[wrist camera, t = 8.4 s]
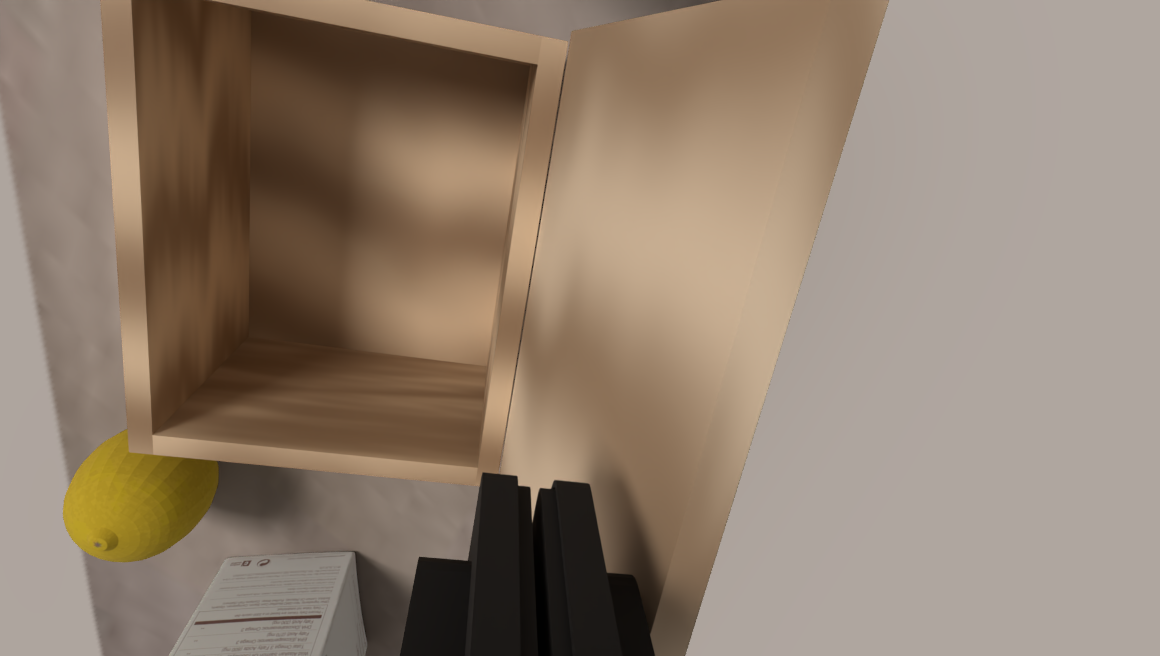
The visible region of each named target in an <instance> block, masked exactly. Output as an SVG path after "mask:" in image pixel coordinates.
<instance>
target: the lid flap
mask: <svg viewBox="0 0 1160 656" xmlns="http://www.w3.org/2000/svg"><path fill="white" fill-rule="evenodd" d="M888 3H889V0H720V1H715V2H710V3H706V4H701V5H696V6H691V7H686V8H681V9H677V10H672V11H667V12H662V13H657V14H652V15H648V16H643V17H638V18H633V19H628V20H623V21H619V22H614V23H609V24H604V25H599V26H594V27H590V28H585V29H580V30H575V31H572V32H571V39H570V45H569V51H568V57H567V63H566V69H565V75H564V82H563V88H562V94H561V100H560V106H559V112H558V118H557V125H556V131H555V137H554V143H553V149H552V155H551V161H550V167H549V174H548V180H547V186H546V192H545V198H544V204H543V210H542V217H541V223H540V229H539V235H538V241H537V247H536V253H535V260H534V266H533V272H532V278H531V284H530V290H529V296H528V302H527V309H526V315H525V321H524V327H523V333H522V339H521V345H520V352H519V358H518V364H517V370H516V376H515V382H514V388H513V395H512V401H511V407H510V413H509V419H508V425H507V431H506V437H505V444H504V450H503V456H502V462H501V468H500V474H505V475H514V476H518V486H528V487H530V489H531V508H532V521H533V516H534V511H535V506H536V501H537V496H538V492H539V489H540V488H547V489H551V487H552V484H553V481H554V480H562V481H571V482H581V483H588V484H590V487H591V491H592V497H593V502H594V507H595V512H596V518H597V523H598V528H599V534H600V539H601V544H602V549H603V555H604V560H605V565H606V571H607V573H618V574H630V575H633V576H634V577H635V579H636V581H637V584H638V587H639V591H640V596H641V600H642V604H643V608H644V612H645V616H646V620H647V624H648V628H649V632H650V637H651V641H652V645H653V649H654V653H655V656H685V654H686V651H687V648H688V645H689V642H690V638H691V635H692V632H693V629H694V626H695V622H696V619H697V616H698V612H699V609H700V606H701V603H702V599H703V597H704V593H705V590H706V587H707V583H708V581H709V577H710V574H711V571H712V568H713V564H714V561H715V558H716V555H717V552H718V548H719V545H720V542H721V539H722V535H723V532H724V529H725V526H726V523H727V520H728V516H729V513H730V510H731V507H732V503H733V500H734V497H735V494H736V491H737V488H738V484H739V481H740V478H741V475H742V471H743V468H744V465H745V461H746V459H747V455H748V452H749V449H750V446H751V443H752V439H753V436H754V433H755V429H756V426H757V423H758V420H759V417H760V413H761V410H762V407H763V404H764V401H765V397H766V394H767V391H768V388H769V385H770V381H771V378H772V375H773V372H774V368H775V365H776V362H777V359H778V356H779V353H780V349H781V346H782V343H783V340H784V337H785V333H786V330H787V327H788V323H789V321H790V317H791V314H792V311H793V308H794V304H795V301H796V298H797V295H798V292H799V288H800V285H801V282H802V279H803V276H804V272H805V269H806V266H807V263H808V260H809V256H810V253H811V250H812V247H813V243H814V240H815V237H816V233H817V230H818V227H819V224H820V221H821V218H822V215H823V211H824V208H825V205H826V202H827V198H828V195H829V192H830V189H831V186H832V182H833V179H834V176H835V173H836V169H837V166H838V163H839V160H840V157H841V154H842V150H843V147H844V144H845V141H846V137H847V134H848V131H849V128H850V124H851V121H852V118H853V115H854V111H855V108H856V105H857V102H858V99H859V96H860V92H861V89H862V86H863V83H864V80H865V76H866V73H867V70H868V67H869V63H870V60H871V57H872V54H873V51H874V48H875V44H876V41H877V38H878V35H879V31H880V28H881V25H882V22H883V19H884V15H885V12H886V9H887V5H888Z"/></svg>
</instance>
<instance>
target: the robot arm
mask: <svg viewBox="0 0 1160 656" xmlns="http://www.w3.org/2000/svg"><path fill="white" fill-rule="evenodd" d="M400 656H655V653H654V649H653V645H652V641H651V637H650V632H649V628H648V624H647V620H646V616H645V612H644V608H643V604H642V600H641V596H640V591H639V587H638V584H637V581H636V579H635V577H634V576H633V575H630V574H618V573H607V571H606V565H605V560H604V555H603V549H602V544H601V539H600V534H599V528H598V523H597V518H596V512H595V507H594V502H593V497H592V491H591V487H590V484H588V483H581V482H571V481H562V480H554V481H553V484H552V487H551V489H547V488H540V489H539V492H538V496H537V501H536V506H535V511H534V516H533V521H532V508H531V489H530V487H528V486H518V476H514V475H505V474H495V473H486V472H482V476H481V482H480V488H479V494H478V501H477V507H476V513H475V519H474V526H473V532H472V538H471V545H470V551H469V557H468V561H463V560H451V559H439V558H427V557H419V560H418V564H417V569H416V574H415V580H414V585H413V590H412V596H411V601H410V606H409V611H408V617H407V622H406V627H405V632H404V638H403V643H402V648H401V654H400Z"/></svg>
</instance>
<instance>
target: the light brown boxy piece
mask: <svg viewBox="0 0 1160 656" xmlns="http://www.w3.org/2000/svg"><path fill="white" fill-rule="evenodd" d="M100 3H101V19H102V35H103V50H104V66H105V82H106V98H107V114H108V129H109V145H110V161H111V177H112V192H113V208H114V224H115V240H116V256H117V271H118V287H119V303H120V319H121V334H122V350H123V366H124V382H125V398H126V413H127V429H128V445H129V452H131V453H141V454H152V455H162V456H172V457H183V458H193V459H203V460H214V461H224V462H234V463H245V464H255V465H265V466H276V467H286V468H296V469H307V470H317V471H327V472H338V473H348V474H358V475H369V476H379V477H389V478H400V479H410V480H420V481H431V482H441V483H452V484H462V485H472V486H480V482H481V476H482V472H486V473H495V474H498V472H499V466H500V460H501V454H502V448H503V442H504V435H505V429H506V423H507V417H508V411H509V405H510V398H511V392H512V386H513V380H514V374H515V368H516V361H517V355H518V349H519V343H520V337H521V331H522V324H523V318H524V312H525V306H526V300H527V294H528V287H529V281H530V275H531V269H532V263H533V257H534V250H535V244H536V238H537V232H538V226H539V219H540V213H541V207H542V201H543V195H544V189H545V182H546V176H547V170H548V164H549V158H550V152H551V145H552V139H553V133H554V127H555V121H556V115H557V108H558V102H559V96H560V90H561V84H562V78H563V71H564V65H565V59H566V53H567V47H568V41H563V40H558V39H553V38H548V37H543V36H538V35H534V34H529V33H524V32H519V31H514V30H509V29H504V28H499V27H494V26H489V25H484V24H480V23H475V22H470V21H465V20H460V19H455V18H450V17H445V16H440V15H435V14H430V13H426V12H421V11H416V10H411V9H406V8H401V7H396V6H391V5H386V4H381V3H376V2H371V1H367V0H100Z"/></svg>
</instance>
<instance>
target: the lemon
mask: <svg viewBox="0 0 1160 656" xmlns="http://www.w3.org/2000/svg"><path fill="white" fill-rule="evenodd" d="M218 480H219V466H218V463H217V461H214V460H203V459H193V458H183V457H172V456H162V455H152V454H141V453H131V452H129V445H128V429H126V430H124V431H122V432H121V433H119V434H117V435H115V436H113V437H112V438H110V439H108V440H107V441H105V442H104V443H102V444H101V445H100V446H99V447H98V448H97V449H96V450H95V451H94V452H93V453H92V454H91V455H90V456H89V457H88V458H87V459H86V460H85V461H84V462H83V463H82V465H81V466H80V467H79V469H78V470H77V472H76V474H75V475H74V477H73V479H72V481H71V484H70V486H69V488H68V490H67V492H66V495H65V499H64V506H63V518H64V523H65V526H66V529H67V531H68V533H69V535H70V537H71V538H72V540H73V541H74V542H75V543H76V544H77V545H78V546H79V547H80V548H81V549H82V550H84V551H85V552H87V553H88V554H90V555H92V556H94V557H97V558H99V559H103V560H107V561H111V562H132V561H139V560H143V559H147V558H150V557H152V556H155V555H157V554H160V553H162V552H164V551H165V550H167V549H168V548H170V547H171V546H173V545H174V544H175V543H177V542H178V541H180V540H181V539H182V538H184V537H185V536H186V535H187V534H188V533H189V532H191V531H192V529H193V528H194V527H195V526H196V525H197V524H198V522H199V521H200V520H201V519H202V517H203V516H204V515H205V513H206V512H207V511H208V509H209V507H210V505H211V503H212V501H213V498H214V495H215V492H216V489H217V487H218Z"/></svg>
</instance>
